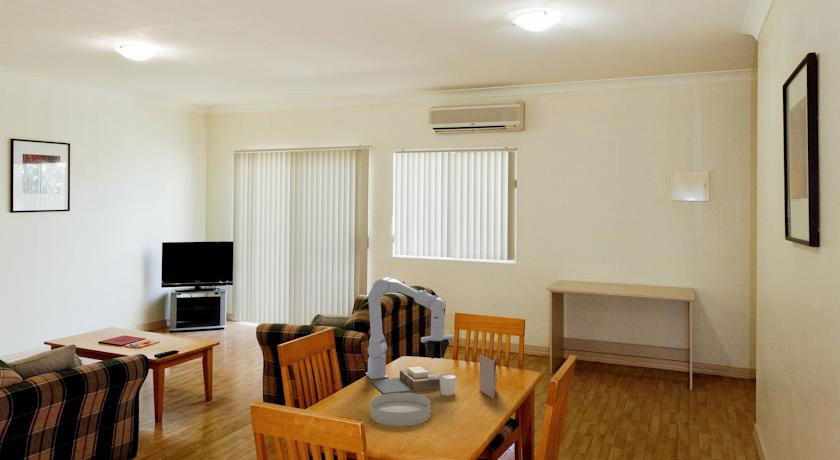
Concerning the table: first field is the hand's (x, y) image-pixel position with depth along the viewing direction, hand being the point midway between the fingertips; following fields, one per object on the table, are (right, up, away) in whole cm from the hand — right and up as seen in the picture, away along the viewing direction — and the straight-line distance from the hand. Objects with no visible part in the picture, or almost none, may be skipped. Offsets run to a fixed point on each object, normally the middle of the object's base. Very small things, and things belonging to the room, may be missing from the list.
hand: (437, 357), depth 262 cm
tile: (-8, -6, -3) cm, 10 cm away
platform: (-7, -11, -2) cm, 13 cm away
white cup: (+4, -11, -15) cm, 19 cm away
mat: (-19, -11, -7) cm, 23 cm away
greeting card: (+20, -12, -15) cm, 28 cm away
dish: (-15, -13, -40) cm, 45 cm away
